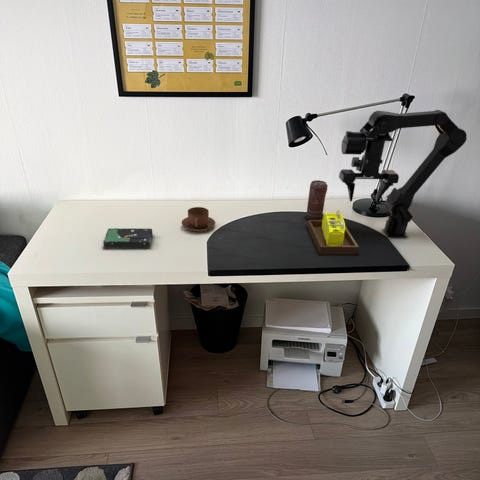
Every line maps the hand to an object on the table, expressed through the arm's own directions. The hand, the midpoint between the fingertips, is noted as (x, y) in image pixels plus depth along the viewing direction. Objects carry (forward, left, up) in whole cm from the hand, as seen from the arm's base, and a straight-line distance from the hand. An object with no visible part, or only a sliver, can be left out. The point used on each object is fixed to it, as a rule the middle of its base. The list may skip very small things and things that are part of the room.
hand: (363, 201), depth 151 cm
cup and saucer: (+57, -5, -12) cm, 59 cm away
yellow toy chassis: (+11, +5, -12) cm, 17 cm away
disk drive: (+80, +7, -12) cm, 81 cm away
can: (+13, -13, -12) cm, 22 cm away
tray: (+11, +5, -12) cm, 17 cm away
